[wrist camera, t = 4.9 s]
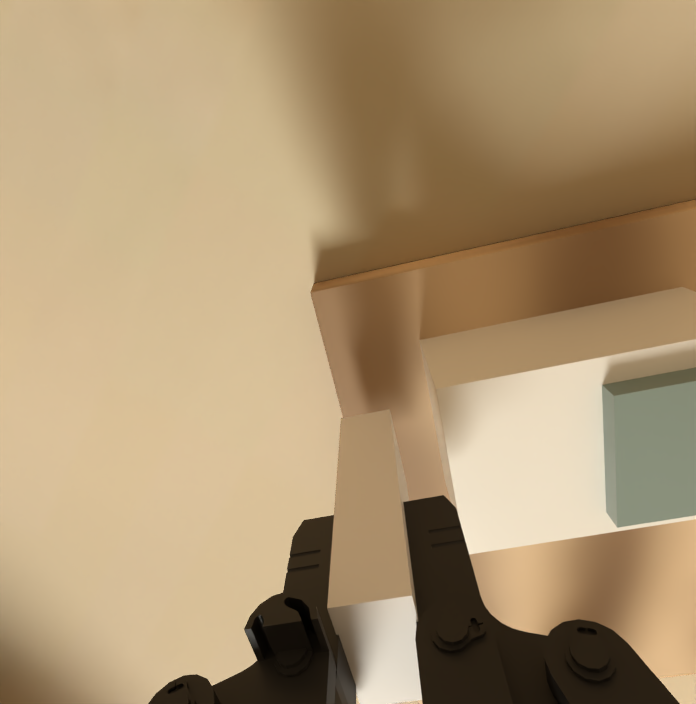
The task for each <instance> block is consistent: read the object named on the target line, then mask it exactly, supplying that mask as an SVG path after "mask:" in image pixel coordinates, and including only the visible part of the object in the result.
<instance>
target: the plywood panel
mask: <svg viewBox="0 0 696 704" xmlns="http://www.w3.org/2000/svg"><path fill="white" fill-rule="evenodd" d="M679 287H684V288H687V289H690V290H692V291H695V292H696V199H695V200H691V201H686V202H682V203H677V204H673V205H668V206H664V207H659V208H654V209H650V210H645V211H641V212H636V213H632V214H627V215H623V216H618V217H614V218H609V219H605V220H600V221H595V222H591V223H586V224H582V225H577V226H573V227H568V228H564V229H559V230H555V231H550V232H545V233H541V234H536V235H532V236H527V237H523V238H518V239H514V240H509V241H505V242H500V243H496V244H491V245H486V246H482V247H477V248H473V249H468V250H464V251H459V252H455V253H450V254H446V255H441V256H437V257H432V258H427V259H423V260H418V261H414V262H409V263H405V264H400V265H396V266H391V267H387V268H382V269H377V270H373V271H368V272H364V273H359V274H355V275H350V276H346V277H341V278H337V279H332V280H328V281H323V282H318V283H314V285H313V287H312V290H311V297H312V300H313V304H314V308H315V312H316V316H317V320H318V323H319V327H320V331H321V335H322V339H323V342H324V346H325V350H326V354H327V358H328V361H329V365H330V369H331V373H332V377H333V380H334V384H335V388H336V392H337V396H338V399H339V403H340V407H341V411H342V415H343V418H347V417H352V416H357V415H362V414H367V413H373V412H378V411H383V410H388V409H390V413H391V417H392V422H393V426H394V431H395V435H396V439H397V444H398V448H399V453H400V457H401V462H402V466H403V470H404V475H405V479H406V484H407V491H408V498H409V501H412V500H417V499H423V498H429V497H435V496H441V495H444V496H445V497H446V498H447V499H448V500H449V501H450V502H451V500H450V497H449V493H448V489H447V486H446V482H445V477H444V472H443V466H442V461H441V456H440V450H439V445H438V439H437V434H436V428H435V423H434V417H433V412H432V406H431V401H430V396H429V390H428V385H427V379H426V374H425V368H424V363H423V357H422V352H421V346H420V341H419V340H423V339H428V338H433V337H437V336H442V335H447V334H452V333H457V332H462V331H467V330H472V329H477V328H482V327H487V326H492V325H497V324H501V323H506V322H511V321H516V320H521V319H526V318H531V317H536V316H541V315H546V314H551V313H556V312H561V311H565V310H570V309H575V308H580V307H585V306H590V305H595V304H600V303H605V302H610V301H615V300H620V299H625V298H629V297H634V296H639V295H644V294H649V293H654V292H659V291H664V290H669V289H674V288H679ZM469 556H470V559H471V563H472V567H473V570H474V574H475V577H476V581H477V585H478V588H479V592H480V595H481V598H482V601H483V603H484V605H485V607H486V608H487V609H488V611H489V612H490V613H491V615H492V616H494V617H495V618H496V619H497V620H499V621H500V622H501V623H503V624H505V625H507V626H509V627H511V628H513V629H517V630H520V631H524V632H529V633H535V634H541V635H547V636H548V634H549V633H550V631H551V630H552V629H553V628H555V627H556V626H558V625H559V624H561V623H562V622H565V621H571V620H577V619H581V620H587V621H593V622H597V623H599V624H601V625H603V626H606V627H608V628H610V629H612V630H614V631H615V632H616V633H617V634H618V635H619V636H620V637H622V638H623V639H624V640H625V641H626V642H627V643H628V644H629V645H630V646H631V647H632V648H633V650H634V651H635V652H636V653H637V654H638V655H639V657H640V658H641V659H642V660H643V661H644V663H645V664H646V665H647V666H648V667H649V668H650V670H651V671H652V672H653V673H654V674H655V675H656V677H657V678H665V677H673V676H681V675H689V674H696V519H694V520H688V521H681V522H675V523H669V524H662V525H656V526H649V527H643V528H636V529H630V530H624V531H617V532H611V533H604V534H598V535H591V536H585V537H578V538H572V539H566V540H559V541H553V542H546V543H540V544H533V545H527V546H521V547H514V548H508V549H501V550H495V551H488V552H482V553H476V554H469ZM418 704H423V703H422V700H418Z"/></svg>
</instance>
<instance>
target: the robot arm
mask: <svg viewBox="0 0 696 704" xmlns="http://www.w3.org/2000/svg"><path fill="white" fill-rule="evenodd" d="M287 570H288V573H287V574H286V579H285V585H284V591H283V593H281V594H277V595H274V596H272V597H270V598H269V599H267V600H266V601H264V602H263V603H261V604H260V605H259V606H258V607H257V609H256V610H255V611H254V612H253V613H252V614H251V616H250V617H249V620H248V622H247V624H246V626H245V629H244V630H245V633H246V635H247V637H248V639H249V642H250V644H251V646H252V648H253V651H254V653H255V655H256V658H257V660H258V661H256V662H255V663H254V664H253V665H252V666H250V667H249V668H247V669H245V670H244V671H242V672H240V673H238V674H236V675H234V676H232V677H230V678H228V679H226V680H224V681H222V682H220V683H217V684H215V685H213V686H211V684H210V682H209V681H208V679H206V678H204V677H202V676H199V675H186V676H182V677H180V678H178V679H176V680H174V681H171V682H169V683H168V684H167V685H166V686H165V687H163V688H162V689H161V690H160V691H159V692H157V693H156V694H155V696H154V697H153V698H152V700H151V701H150V702H149V704H356V694H357V697H358V700H359V703H360V704H394V703H402V702H410V701H418V700H422V703H423V704H679V702H678V701H677V700H676V699H675V698H674V697H673V695H672V694H671V693H670V692H669V691H668V690H667V688H666V687H665V686H664V685H663V684H662V682H661V681H660V680H659V679H658V678H657V677H656V675H655V674H654V673H653V672H652V671H651V670H650V668H649V667H648V666H647V665H646V664H645V663H644V661H643V660H642V659H641V658H640V657H639V655H638V654H637V653H636V652H635V651H634V650H633V648H632V647H631V646H630V645H629V644H628V643H627V642H626V641H625V640H624V639H623V638H622V637H620V636H619V635H618V634H617V633H616V632H615V631H614V630H612V629H610V628H608V627H606V626H603V625H601V624H599V623H597V622H593V621H587V620H581V619H577V620H571V621H565V622H562V623H561V624H559V625H558V626H556V627H555V628H553V629H552V630H551V631H550V633H549V634H548V636H547V635H541V634H535V633H529V632H524V631H520V630H517V629H513V628H511V627H509V626H507V625H505V624H503V623H501V622H500V621H499V620H497V619H496V618H495V617H494V616H492V615H491V613H490V612H489V611H488V609H487V608H486V607H485V605H484V603H483V601H482V598H481V595H480V592H479V588H478V585H477V581H476V577H475V574H474V570H473V567H472V563H471V559H470V556H469V552H468V549H467V545H466V542H465V538H464V534H463V531H462V527H461V523H460V520H459V516H458V513H457V509H456V507H455V506H454V505H453V504H452V503H451V502H450V501H449V500H448V499H447V498H446V497H445V496H444V495H441V496H435V497H429V498H423V499H417V500H412V501H409V498H408V491H407V484H406V479H405V475H404V470H403V466H402V462H401V457H400V453H399V448H398V444H397V439H396V435H395V431H394V426H393V422H392V417H391V413H390V409H388V410H383V411H378V412H373V413H367V414H362V415H357V416H352V417H347V418H341V426H340V440H339V453H338V467H337V481H336V494H335V508H334V515H332V516H326V517H320V518H314V519H309V520H304V521H303V522H302V524H301V525H300V527H299V528H298V530H297V532H296V533H295V535H294V536H293V540H292V546H291V551H290V558H289V563H288V568H287Z"/></svg>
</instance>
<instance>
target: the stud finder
mask: <svg viewBox="0 0 696 704" xmlns="http://www.w3.org/2000/svg"><path fill="white" fill-rule="evenodd" d="M419 341H420V346H421V352H422V357H423V363H424V368H425V374H426V379H427V385H428V390H429V396H430V401H431V406H432V412H433V417H434V423H435V428H436V434H437V439H438V445H439V450H440V456H441V461H442V466H443V472H444V477H445V482H446V486H447V489H448V493H449V497H450V500H451V503H452V504H453V505H454V506H455V507H456V509H457V513H458V516H459V520H460V523H461V527H462V531H463V534H464V538H465V542H466V545H467V549H468V552H469V554H476V553H482V552H488V551H495V550H501V549H508V548H514V547H521V546H527V545H533V544H540V543H546V542H553V541H559V540H566V539H572V538H578V537H585V536H591V535H598V534H604V533H611V532H617V531H624V530H630V529H636V528H643V527H649V526H656V525H662V524H669V523H675V522H681V521H688V520H694V519H696V292H695V291H692V290H690V289H687V288H684V287H679V288H674V289H669V290H664V291H659V292H654V293H649V294H644V295H639V296H634V297H629V298H625V299H620V300H615V301H610V302H605V303H600V304H595V305H590V306H585V307H580V308H575V309H570V310H565V311H561V312H556V313H551V314H546V315H541V316H536V317H531V318H526V319H521V320H516V321H511V322H506V323H501V324H497V325H492V326H487V327H482V328H477V329H472V330H467V331H462V332H457V333H452V334H447V335H442V336H437V337H433V338H428V339H423V340H419Z"/></svg>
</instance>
